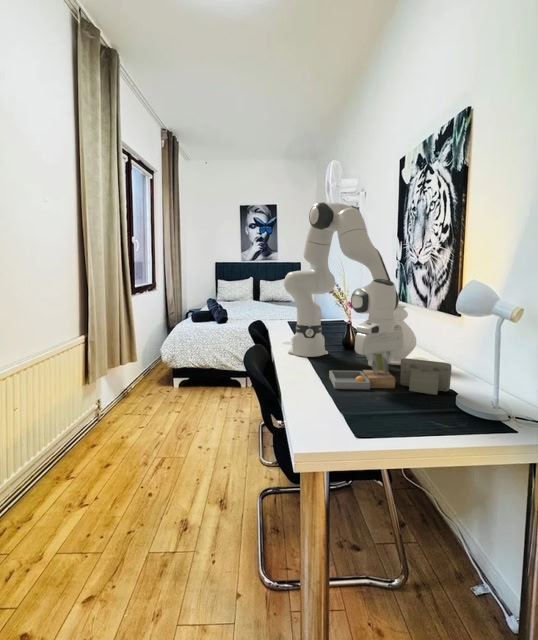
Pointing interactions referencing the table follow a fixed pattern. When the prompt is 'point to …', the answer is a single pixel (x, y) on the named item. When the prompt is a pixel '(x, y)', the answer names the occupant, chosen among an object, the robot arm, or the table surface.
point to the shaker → (384, 362)
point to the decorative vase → (408, 336)
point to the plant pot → (379, 362)
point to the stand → (380, 379)
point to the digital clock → (425, 375)
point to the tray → (348, 380)
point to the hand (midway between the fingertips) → (378, 364)
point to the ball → (359, 379)
